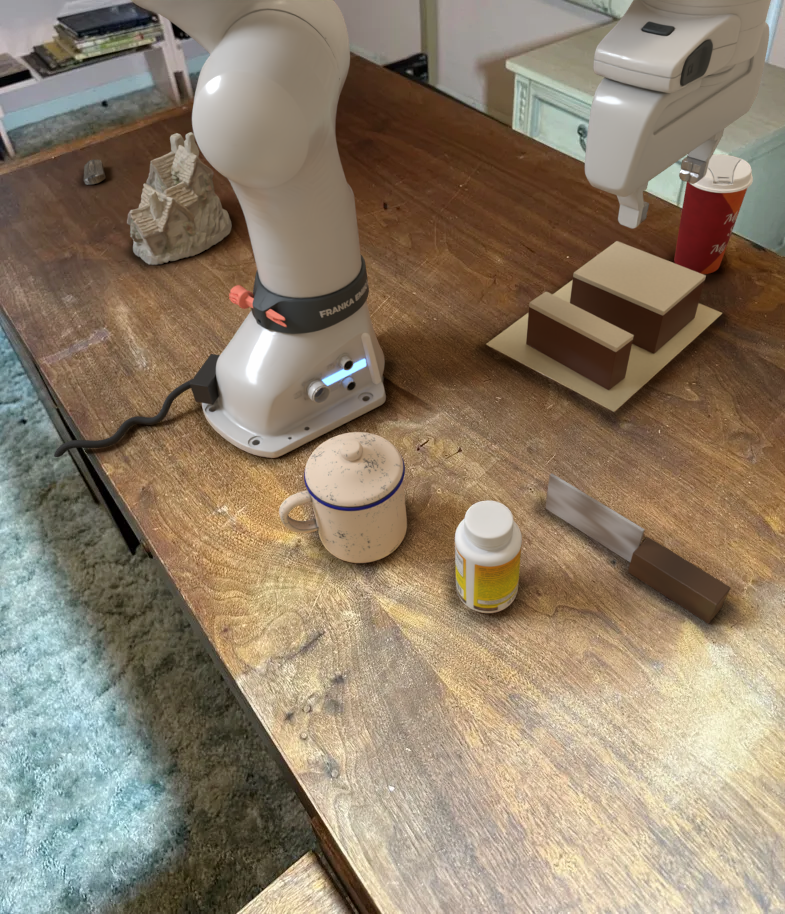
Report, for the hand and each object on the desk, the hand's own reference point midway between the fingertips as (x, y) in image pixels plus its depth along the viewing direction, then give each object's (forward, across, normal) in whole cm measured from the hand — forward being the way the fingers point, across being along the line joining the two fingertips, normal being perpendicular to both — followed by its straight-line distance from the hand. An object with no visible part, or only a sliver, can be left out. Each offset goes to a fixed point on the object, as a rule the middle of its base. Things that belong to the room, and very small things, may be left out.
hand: (662, 200), depth 65 cm
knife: (+25, +16, +11) cm, 32 cm away
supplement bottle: (+25, +27, +4) cm, 37 cm away
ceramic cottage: (+25, +9, -72) cm, 77 cm away
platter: (+25, -10, -9) cm, 29 cm away
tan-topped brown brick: (+24, -3, -8) cm, 26 cm away
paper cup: (+25, -30, -8) cm, 40 cm away
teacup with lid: (+25, +31, -10) cm, 41 cm away
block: (+25, +8, -99) cm, 103 cm away
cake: (+24, -14, -8) cm, 29 cm away
